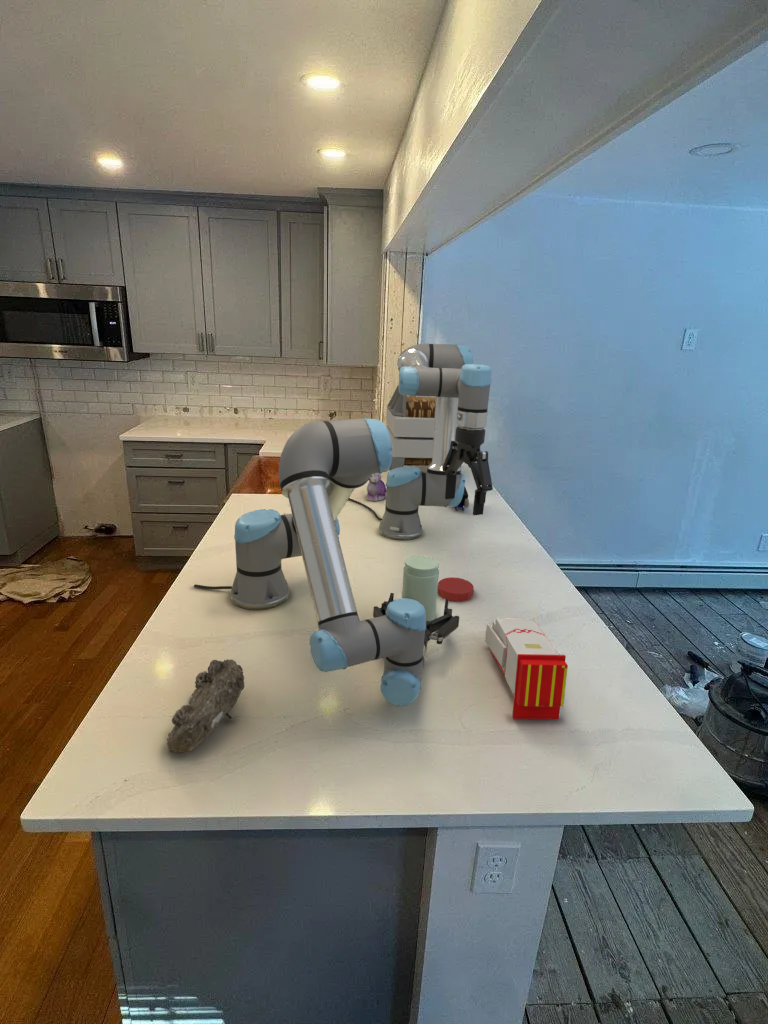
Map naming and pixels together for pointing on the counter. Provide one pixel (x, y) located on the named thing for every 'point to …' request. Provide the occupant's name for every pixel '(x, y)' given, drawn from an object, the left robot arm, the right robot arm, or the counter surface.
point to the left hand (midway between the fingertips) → (419, 600)
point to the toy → (529, 667)
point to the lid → (455, 589)
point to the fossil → (206, 705)
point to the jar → (421, 582)
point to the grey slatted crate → (411, 429)
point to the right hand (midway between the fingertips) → (463, 506)
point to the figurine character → (463, 501)
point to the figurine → (376, 488)
